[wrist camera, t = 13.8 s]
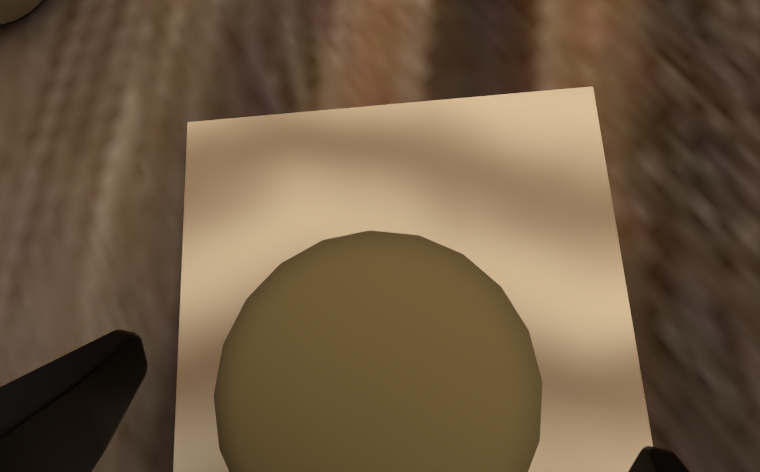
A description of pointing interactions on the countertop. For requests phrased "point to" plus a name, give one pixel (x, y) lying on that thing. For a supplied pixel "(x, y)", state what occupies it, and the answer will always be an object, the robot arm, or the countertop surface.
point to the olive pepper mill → (378, 365)
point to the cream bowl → (15, 9)
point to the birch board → (434, 222)
